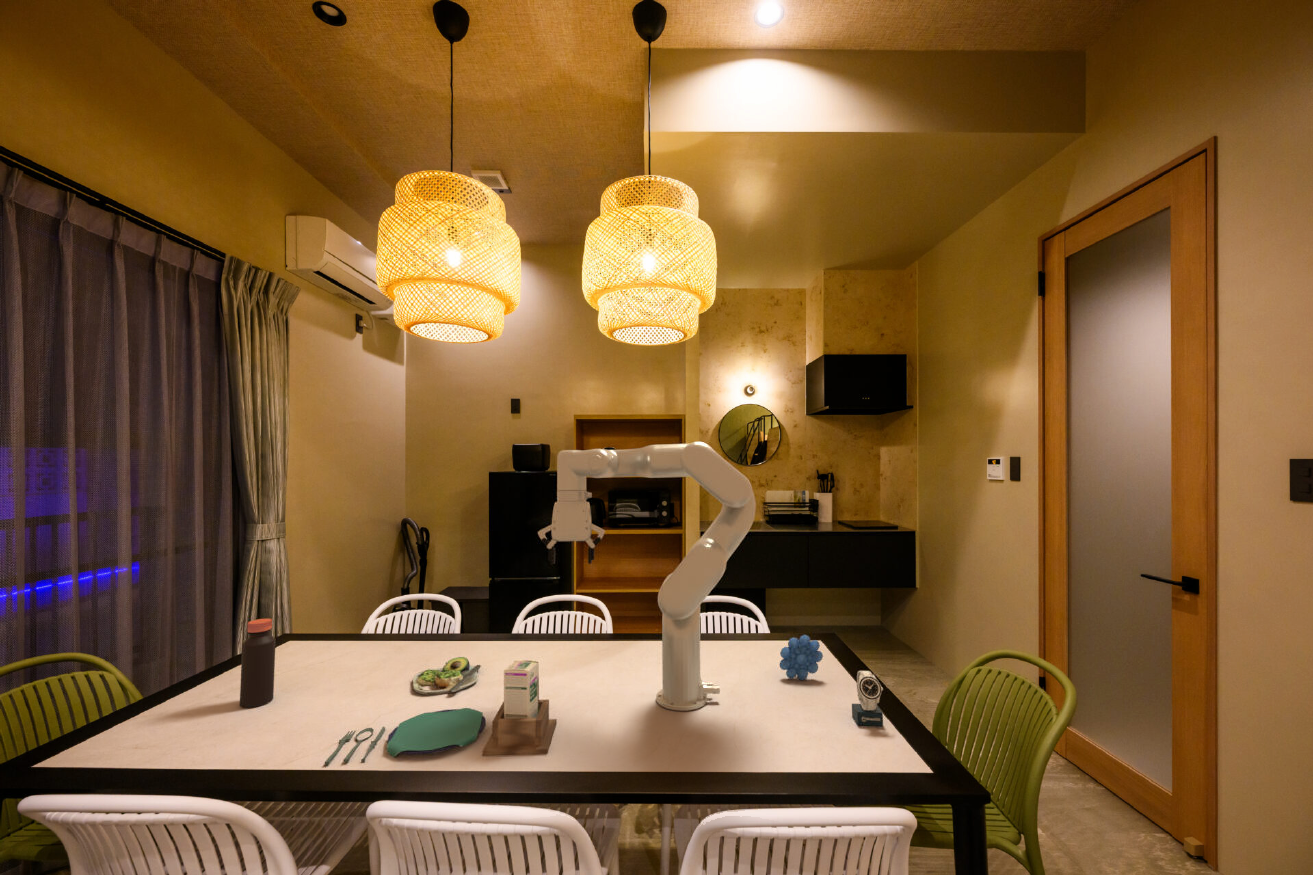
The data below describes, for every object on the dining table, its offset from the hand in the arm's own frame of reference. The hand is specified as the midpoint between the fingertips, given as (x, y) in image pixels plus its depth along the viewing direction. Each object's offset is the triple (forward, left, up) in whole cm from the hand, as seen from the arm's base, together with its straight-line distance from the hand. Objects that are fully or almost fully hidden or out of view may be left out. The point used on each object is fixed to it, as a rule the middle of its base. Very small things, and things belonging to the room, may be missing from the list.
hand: (571, 563), depth 138 cm
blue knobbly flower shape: (-62, -7, -34) cm, 71 cm away
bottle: (+78, 0, -34) cm, 85 cm away
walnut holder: (+8, +22, -33) cm, 41 cm away
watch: (-69, +19, -34) cm, 79 cm away
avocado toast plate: (+35, -11, -34) cm, 50 cm away
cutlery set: (+31, +20, -34) cm, 51 cm away
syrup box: (+8, +22, -32) cm, 40 cm away
